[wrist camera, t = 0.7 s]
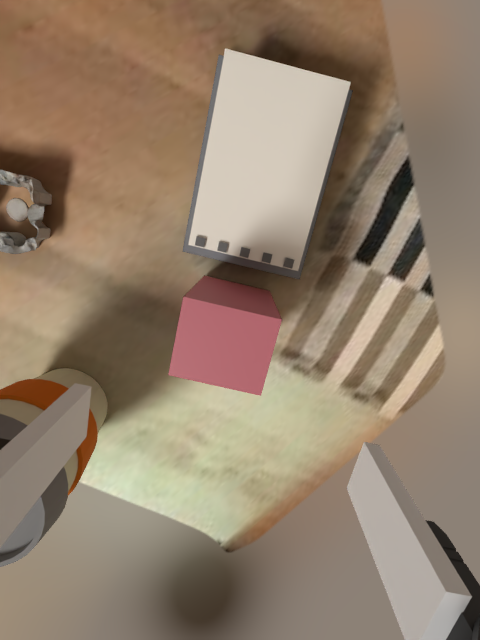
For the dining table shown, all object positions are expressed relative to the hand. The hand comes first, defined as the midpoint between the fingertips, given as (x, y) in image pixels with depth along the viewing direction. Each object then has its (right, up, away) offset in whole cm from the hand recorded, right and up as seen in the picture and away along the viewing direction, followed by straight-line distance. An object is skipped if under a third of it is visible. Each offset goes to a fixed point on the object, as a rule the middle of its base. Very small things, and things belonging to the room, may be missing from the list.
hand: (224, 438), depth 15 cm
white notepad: (+3, +19, +16) cm, 26 cm away
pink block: (0, +7, +19) cm, 21 cm away
